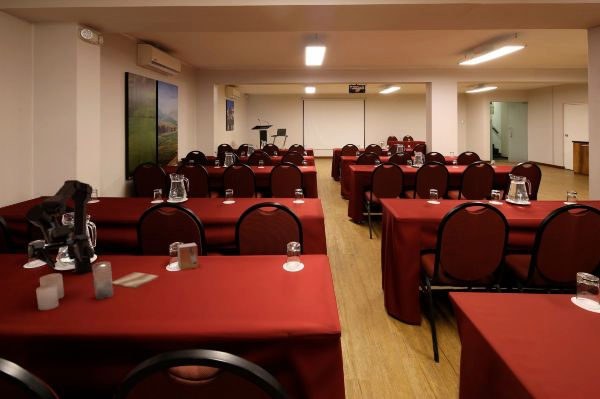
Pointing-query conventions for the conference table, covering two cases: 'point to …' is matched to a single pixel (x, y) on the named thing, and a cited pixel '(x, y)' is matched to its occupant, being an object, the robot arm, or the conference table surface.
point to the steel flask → (103, 280)
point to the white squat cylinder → (47, 297)
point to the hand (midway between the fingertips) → (68, 264)
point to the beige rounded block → (53, 282)
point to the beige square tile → (134, 280)
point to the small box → (187, 256)
